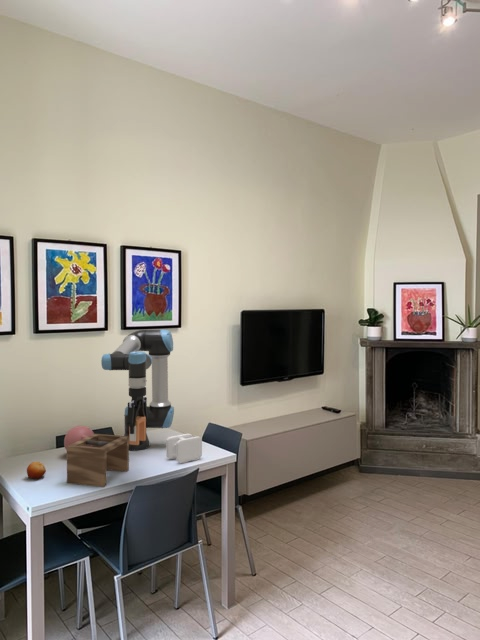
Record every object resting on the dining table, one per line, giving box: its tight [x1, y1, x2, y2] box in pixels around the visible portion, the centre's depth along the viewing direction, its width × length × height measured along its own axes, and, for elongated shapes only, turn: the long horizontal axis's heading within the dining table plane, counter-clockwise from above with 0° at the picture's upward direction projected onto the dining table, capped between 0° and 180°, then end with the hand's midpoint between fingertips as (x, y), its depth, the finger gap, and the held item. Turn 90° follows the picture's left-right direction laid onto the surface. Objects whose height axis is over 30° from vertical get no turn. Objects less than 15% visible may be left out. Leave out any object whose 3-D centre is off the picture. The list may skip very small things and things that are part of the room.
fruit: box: [26, 461, 47, 480], centre depth 212 cm, size 8×8×8 cm
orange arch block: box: [129, 416, 147, 445], centre depth 209 cm, size 4×8×10 cm, turn 165°
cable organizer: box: [165, 433, 203, 464], centre depth 239 cm, size 15×11×12 cm
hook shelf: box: [66, 433, 130, 488], centre depth 214 cm, size 22×18×16 cm
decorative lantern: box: [63, 425, 95, 451], centre depth 243 cm, size 15×20×15 cm
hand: (137, 438), depth 209 cm, fingers closed on orange arch block, 8 cm apart
